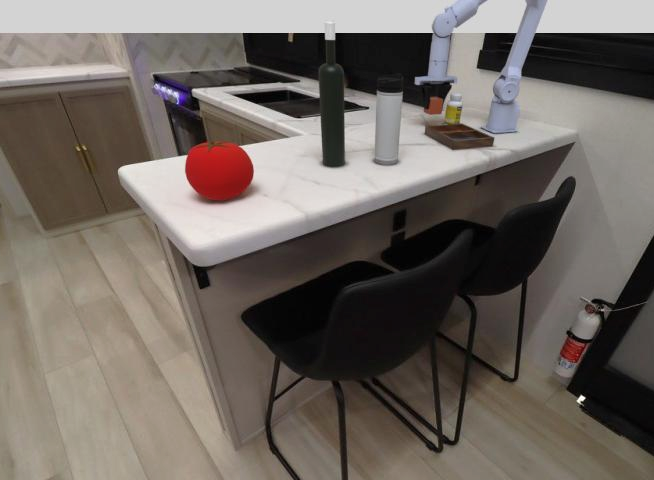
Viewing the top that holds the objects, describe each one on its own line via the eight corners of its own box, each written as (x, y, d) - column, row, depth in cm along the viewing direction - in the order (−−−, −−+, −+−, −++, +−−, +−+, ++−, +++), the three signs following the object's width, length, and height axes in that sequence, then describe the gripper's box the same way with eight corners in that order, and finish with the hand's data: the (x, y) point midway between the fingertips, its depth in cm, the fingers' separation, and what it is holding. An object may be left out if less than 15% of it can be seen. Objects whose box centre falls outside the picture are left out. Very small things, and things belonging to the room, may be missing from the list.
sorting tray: (461, 131, 128) (462, 123, 126) (492, 146, 115) (494, 137, 113) (424, 134, 124) (425, 125, 122) (453, 150, 110) (454, 141, 109)
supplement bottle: (455, 128, 131) (460, 96, 125) (441, 125, 133) (445, 94, 127) (461, 125, 135) (466, 94, 129) (447, 122, 137) (451, 92, 131)
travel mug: (403, 161, 101) (410, 75, 89) (387, 166, 97) (392, 77, 85) (385, 155, 104) (390, 72, 92) (369, 161, 100) (372, 74, 88)
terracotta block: (435, 111, 130) (436, 96, 127) (441, 114, 127) (443, 99, 124) (423, 112, 129) (424, 97, 126) (429, 114, 125) (431, 99, 123)
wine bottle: (349, 164, 98) (348, 20, 80) (332, 169, 95) (327, 20, 76) (335, 158, 101) (331, 19, 83) (318, 163, 98) (310, 19, 80)
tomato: (180, 198, 78) (164, 143, 71) (229, 180, 87) (219, 129, 80) (220, 213, 73) (207, 155, 67) (267, 191, 82) (260, 138, 76)
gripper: (452, 59, 123) (445, 104, 132) (412, 59, 119) (408, 107, 128) (463, 61, 118) (456, 109, 127) (422, 62, 114) (417, 111, 122)
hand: (433, 108), depth 127 cm, fingers closed on terracotta block, 4 cm apart
